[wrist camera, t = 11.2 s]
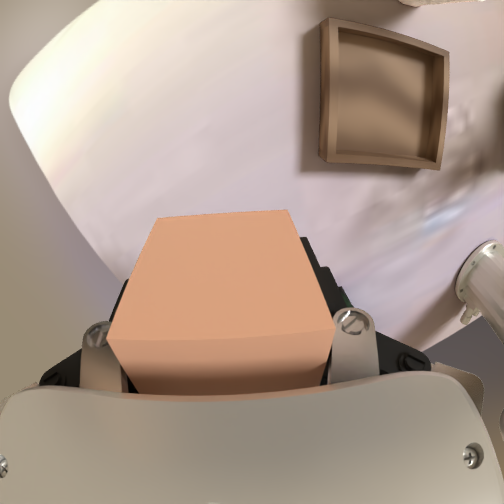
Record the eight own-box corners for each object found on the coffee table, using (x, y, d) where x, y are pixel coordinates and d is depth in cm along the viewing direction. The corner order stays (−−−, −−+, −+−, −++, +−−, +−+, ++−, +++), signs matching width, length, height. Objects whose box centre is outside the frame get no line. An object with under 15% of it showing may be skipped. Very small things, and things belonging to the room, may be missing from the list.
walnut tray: (426, 163, 27) (439, 170, 25) (318, 155, 26) (326, 162, 24) (434, 51, 19) (449, 51, 17) (319, 23, 19) (328, 17, 16)
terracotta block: (283, 306, 13) (307, 421, 8) (178, 312, 13) (163, 427, 8) (287, 209, 11) (335, 328, 6) (157, 218, 10) (106, 338, 5)
